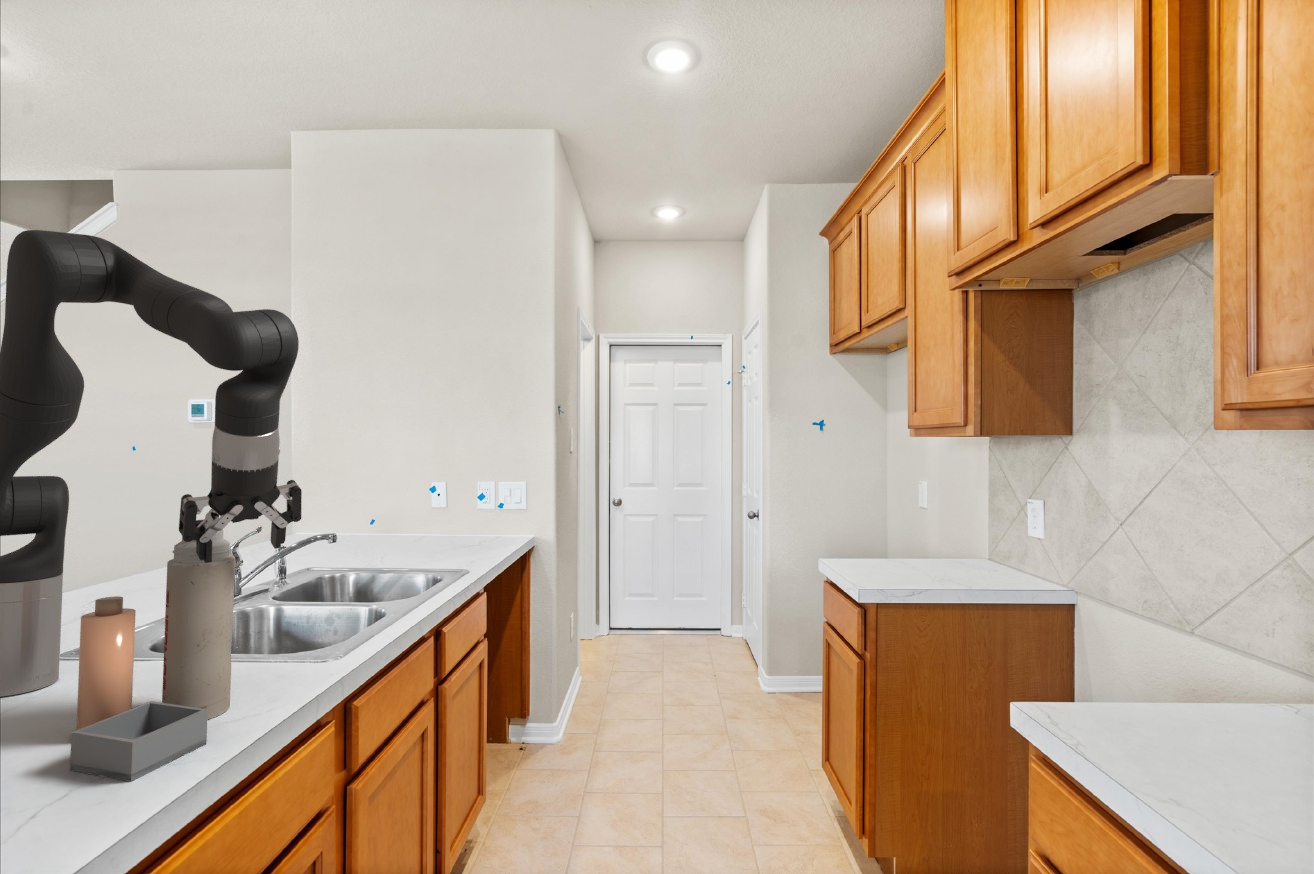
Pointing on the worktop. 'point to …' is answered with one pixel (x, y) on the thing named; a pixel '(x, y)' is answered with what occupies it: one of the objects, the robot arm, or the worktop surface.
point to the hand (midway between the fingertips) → (242, 552)
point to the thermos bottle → (199, 627)
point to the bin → (138, 740)
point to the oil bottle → (105, 661)
